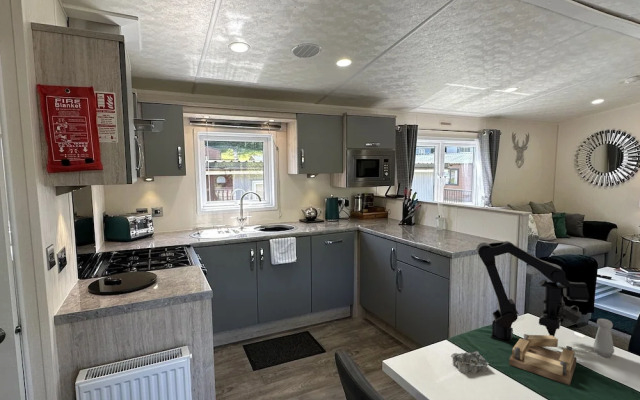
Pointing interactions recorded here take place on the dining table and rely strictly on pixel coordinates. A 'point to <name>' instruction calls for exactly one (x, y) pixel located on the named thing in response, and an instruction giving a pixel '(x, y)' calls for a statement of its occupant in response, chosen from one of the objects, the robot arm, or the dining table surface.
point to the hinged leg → (541, 340)
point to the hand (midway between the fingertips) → (552, 337)
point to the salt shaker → (604, 338)
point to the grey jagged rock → (469, 362)
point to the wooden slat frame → (544, 361)
